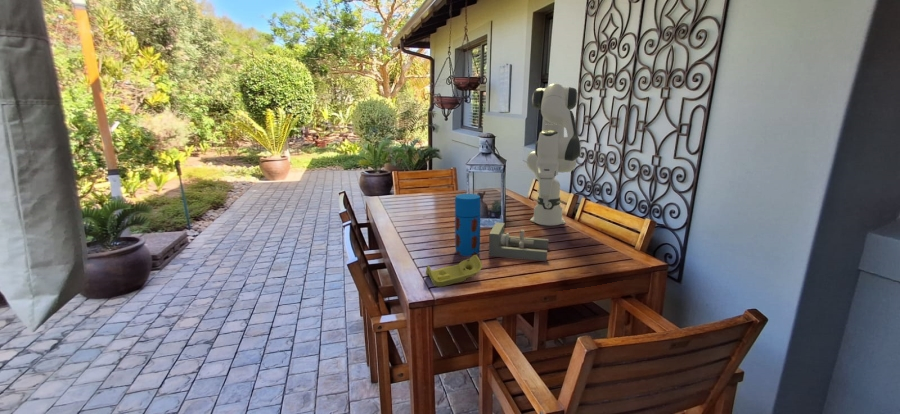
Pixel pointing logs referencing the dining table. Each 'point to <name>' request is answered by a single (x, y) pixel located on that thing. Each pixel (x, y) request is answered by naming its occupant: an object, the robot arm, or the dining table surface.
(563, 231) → the dining table surface
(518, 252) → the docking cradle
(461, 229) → the thermos
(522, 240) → the pipe connector
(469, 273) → the plastic component
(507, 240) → the rounded knob
